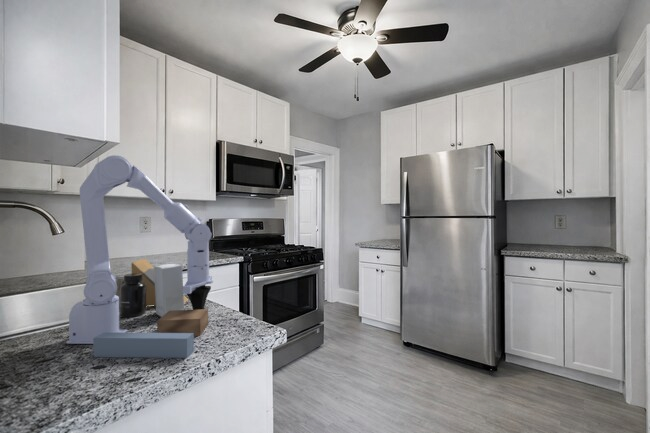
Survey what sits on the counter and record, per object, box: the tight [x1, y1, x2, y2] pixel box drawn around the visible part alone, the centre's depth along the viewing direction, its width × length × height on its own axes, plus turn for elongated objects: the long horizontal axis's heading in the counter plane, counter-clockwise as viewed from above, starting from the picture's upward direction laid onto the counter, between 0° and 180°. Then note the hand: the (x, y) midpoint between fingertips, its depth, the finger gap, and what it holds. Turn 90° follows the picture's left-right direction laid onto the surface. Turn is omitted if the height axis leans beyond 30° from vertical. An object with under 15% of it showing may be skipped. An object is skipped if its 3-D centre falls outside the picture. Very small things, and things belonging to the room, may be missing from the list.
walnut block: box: [156, 308, 209, 337], centre depth 80 cm, size 10×8×4 cm
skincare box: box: [153, 263, 185, 318], centre depth 93 cm, size 8×6×15 cm
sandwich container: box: [131, 258, 190, 306], centre depth 105 cm, size 9×15×15 cm, turn 94°
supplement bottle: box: [119, 273, 147, 318], centre depth 94 cm, size 7×7×12 cm
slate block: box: [92, 332, 195, 359], centre depth 66 cm, size 20×3×4 cm, turn 88°
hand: (198, 313), depth 88 cm, fingers closed
